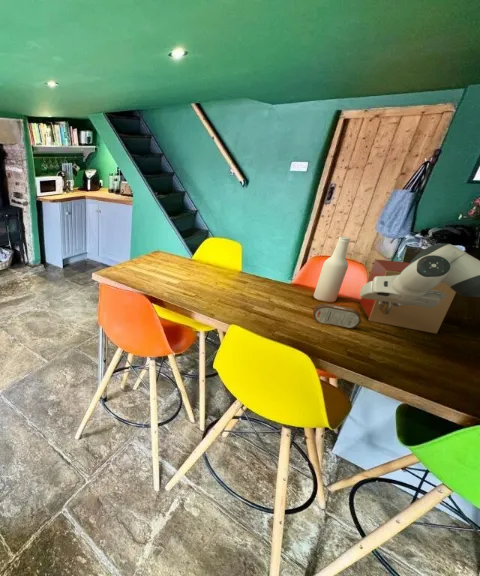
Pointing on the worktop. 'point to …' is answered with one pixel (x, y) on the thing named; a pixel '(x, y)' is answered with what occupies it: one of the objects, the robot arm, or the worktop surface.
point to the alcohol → (333, 273)
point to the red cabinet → (380, 270)
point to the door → (414, 311)
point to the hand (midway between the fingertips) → (388, 303)
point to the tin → (336, 315)
